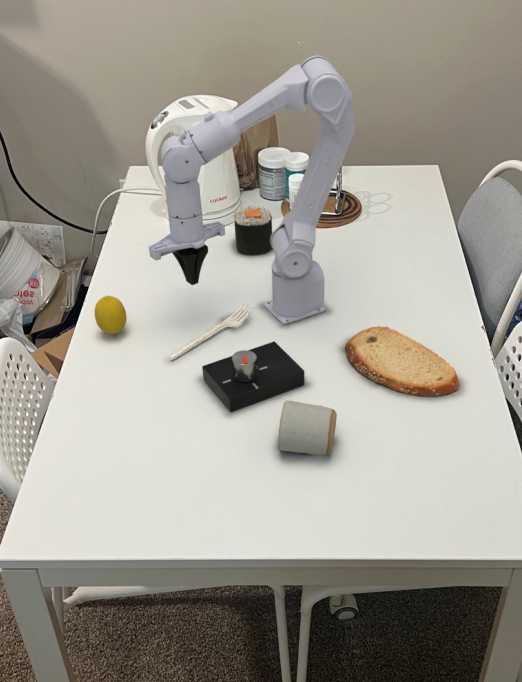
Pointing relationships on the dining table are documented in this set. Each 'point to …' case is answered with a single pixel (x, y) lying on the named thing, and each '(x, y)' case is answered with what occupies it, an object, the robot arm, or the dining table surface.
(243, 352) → the hob knob
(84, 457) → the dining table surface
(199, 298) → the dining table surface
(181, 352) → the fork
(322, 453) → the ceramic mug
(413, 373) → the bread slice
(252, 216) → the sushi
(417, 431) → the dining table surface
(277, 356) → the black knob base
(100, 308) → the lemon
